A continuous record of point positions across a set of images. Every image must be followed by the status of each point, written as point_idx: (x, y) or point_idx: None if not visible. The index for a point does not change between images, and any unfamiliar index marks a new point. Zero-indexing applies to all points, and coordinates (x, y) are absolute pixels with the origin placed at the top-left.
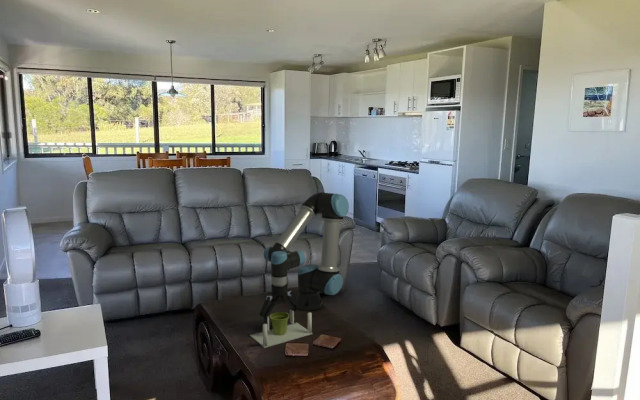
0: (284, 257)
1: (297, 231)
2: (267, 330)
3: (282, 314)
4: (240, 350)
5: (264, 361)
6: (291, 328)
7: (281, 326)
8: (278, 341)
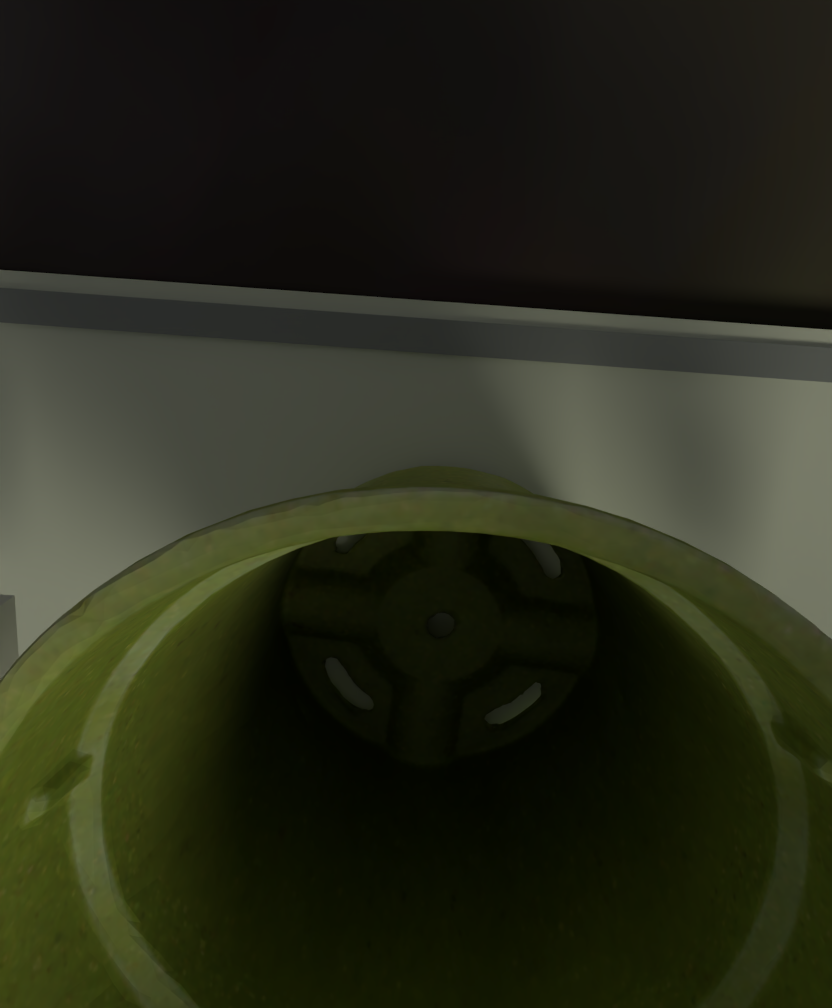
0: None
1: None
2: (238, 316)
3: (785, 694)
4: None
5: None
6: (814, 587)
7: (353, 951)
8: None
